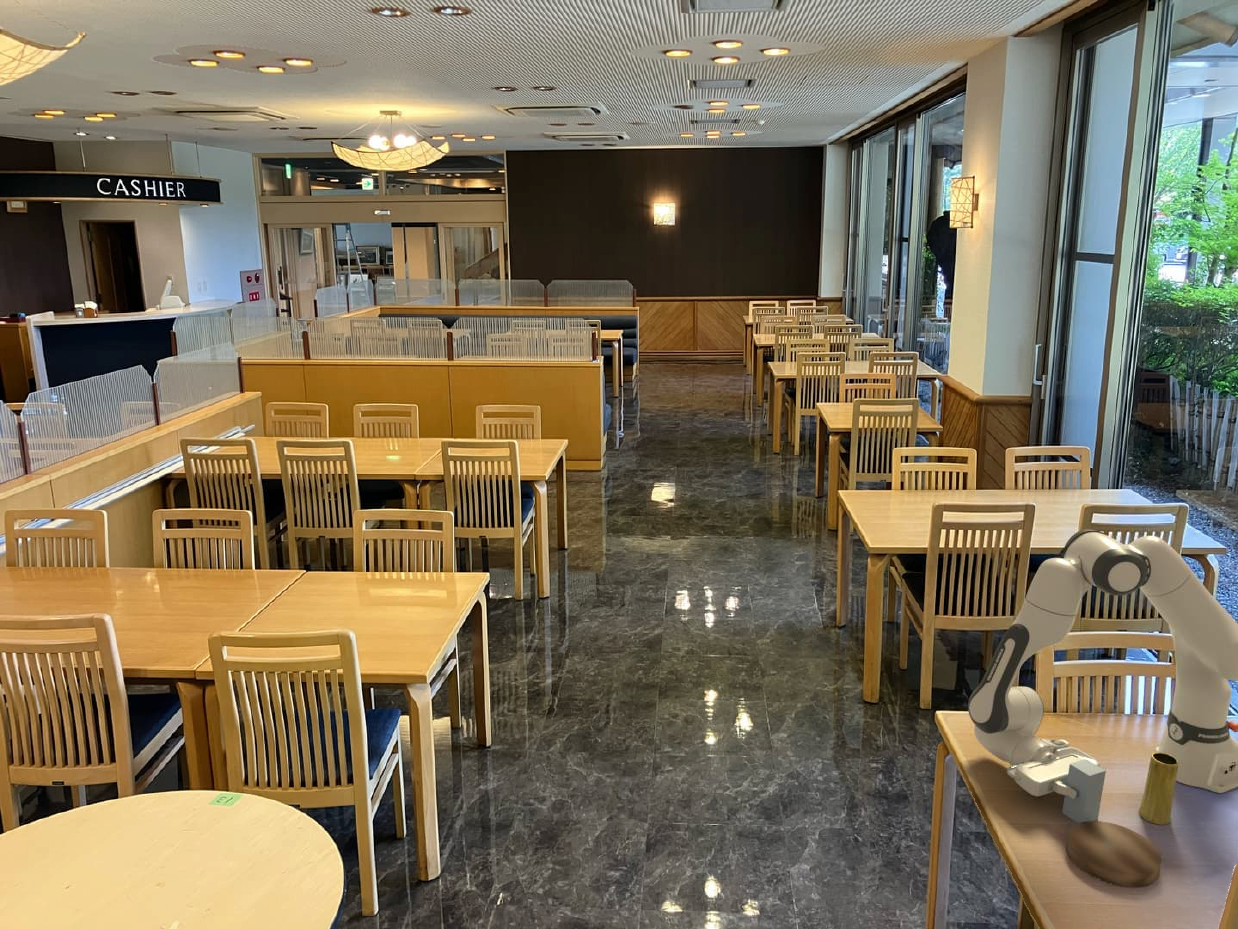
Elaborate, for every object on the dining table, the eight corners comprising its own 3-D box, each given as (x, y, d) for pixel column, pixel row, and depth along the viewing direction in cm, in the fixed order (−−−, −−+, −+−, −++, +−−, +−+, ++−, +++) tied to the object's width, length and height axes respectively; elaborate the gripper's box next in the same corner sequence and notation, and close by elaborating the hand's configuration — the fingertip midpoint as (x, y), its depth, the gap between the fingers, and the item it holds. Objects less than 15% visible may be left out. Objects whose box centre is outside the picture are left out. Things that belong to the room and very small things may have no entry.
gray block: (1078, 807, 216) (1086, 759, 213) (1097, 820, 211) (1105, 770, 208) (1062, 812, 214) (1069, 764, 211) (1081, 825, 209) (1089, 776, 206)
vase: (1158, 828, 209) (1169, 769, 205) (1132, 812, 214) (1142, 754, 211) (1176, 820, 212) (1187, 762, 208) (1150, 805, 217) (1160, 748, 213)
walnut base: (1115, 828, 209) (1117, 816, 208) (1179, 879, 193) (1181, 866, 192) (1048, 840, 204) (1050, 827, 203) (1107, 893, 188) (1110, 880, 188)
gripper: (1004, 757, 217) (1055, 790, 205) (1069, 738, 226) (1121, 768, 214) (1000, 782, 219) (1051, 816, 207) (1065, 762, 227) (1117, 794, 215)
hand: (1087, 792), depth 210 cm, fingers closed on gray block, 5 cm apart
